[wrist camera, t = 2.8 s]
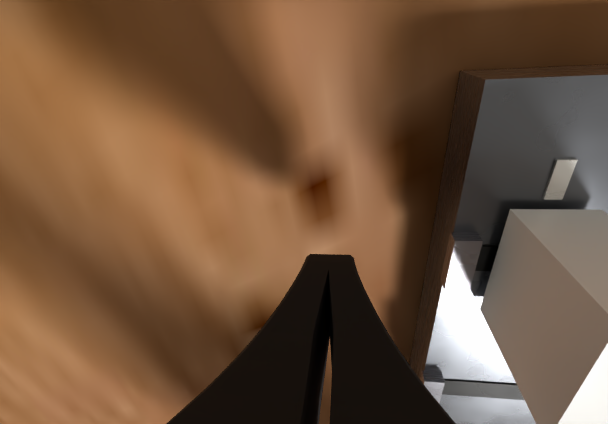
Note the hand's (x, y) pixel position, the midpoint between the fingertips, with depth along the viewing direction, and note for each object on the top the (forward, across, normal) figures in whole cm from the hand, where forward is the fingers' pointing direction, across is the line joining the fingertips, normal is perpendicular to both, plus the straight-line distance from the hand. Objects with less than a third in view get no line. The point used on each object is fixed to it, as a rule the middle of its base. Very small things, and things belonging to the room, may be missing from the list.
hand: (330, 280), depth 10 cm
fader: (+1, -6, 0) cm, 6 cm away
